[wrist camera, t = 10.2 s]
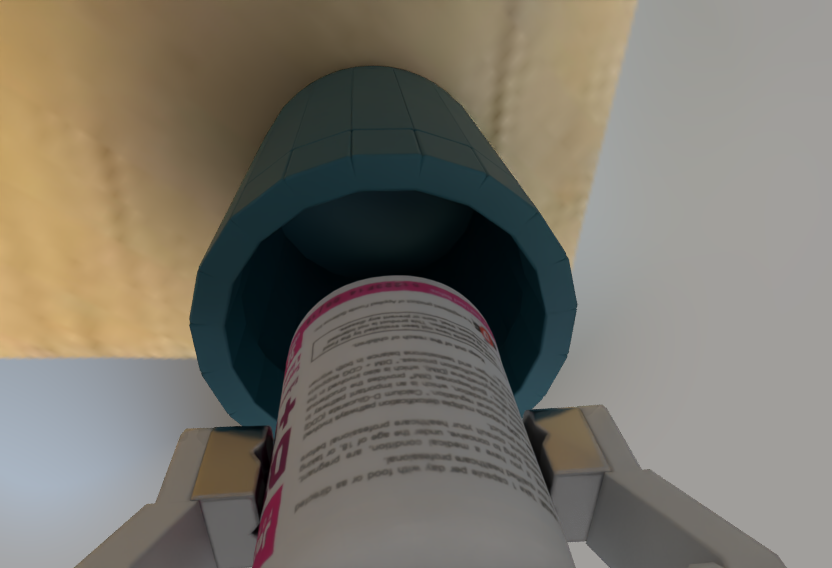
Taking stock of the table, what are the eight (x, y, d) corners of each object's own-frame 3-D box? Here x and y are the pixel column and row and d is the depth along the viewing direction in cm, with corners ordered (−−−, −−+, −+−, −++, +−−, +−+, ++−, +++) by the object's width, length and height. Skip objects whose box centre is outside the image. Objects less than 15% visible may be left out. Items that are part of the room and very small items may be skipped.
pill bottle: (253, 303, 12) (96, 841, 5) (468, 241, 12) (659, 707, 4) (329, 451, 14) (303, 957, 7) (508, 403, 14) (672, 875, 7)
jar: (245, 65, 20) (148, 158, 11) (494, 65, 21) (608, 151, 12) (274, 284, 25) (225, 483, 15) (477, 276, 26) (549, 462, 16)
